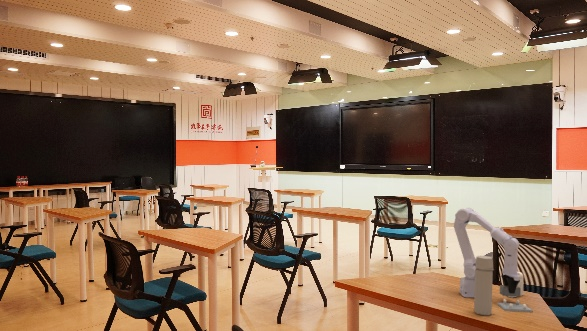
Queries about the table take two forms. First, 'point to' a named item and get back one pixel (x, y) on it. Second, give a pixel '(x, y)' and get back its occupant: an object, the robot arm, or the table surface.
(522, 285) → the photo printer
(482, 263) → the water bottle
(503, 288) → the block
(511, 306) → the grey mounting plate
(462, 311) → the table surface
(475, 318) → the table surface
